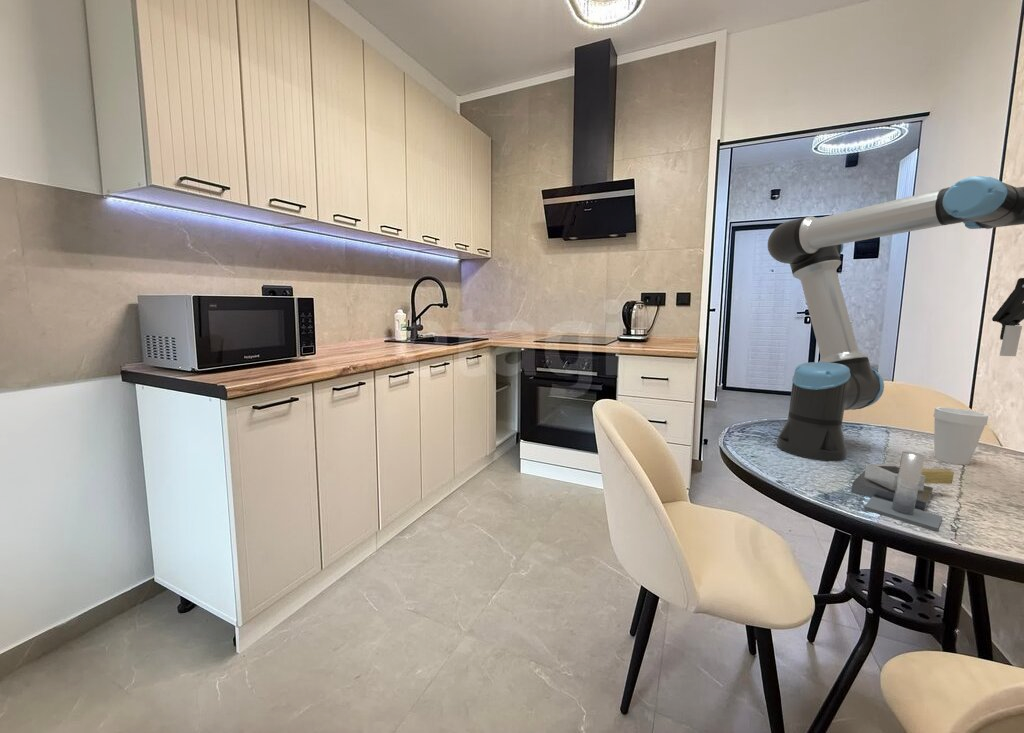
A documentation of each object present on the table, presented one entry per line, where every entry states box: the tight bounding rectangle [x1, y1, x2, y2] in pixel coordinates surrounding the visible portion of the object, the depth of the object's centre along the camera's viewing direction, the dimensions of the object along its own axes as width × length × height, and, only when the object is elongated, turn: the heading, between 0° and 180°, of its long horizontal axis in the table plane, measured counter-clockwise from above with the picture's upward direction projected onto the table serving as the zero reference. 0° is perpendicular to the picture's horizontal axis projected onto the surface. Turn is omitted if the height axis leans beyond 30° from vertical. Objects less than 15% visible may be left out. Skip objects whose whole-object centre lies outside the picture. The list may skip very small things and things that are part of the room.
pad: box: [863, 496, 944, 532], centre depth 79 cm, size 10×7×1 cm
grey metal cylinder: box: [892, 450, 925, 515], centre depth 79 cm, size 3×3×11 cm
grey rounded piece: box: [933, 406, 989, 466], centre depth 110 cm, size 10×9×13 cm
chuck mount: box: [850, 470, 934, 511], centre depth 88 cm, size 11×11×2 cm
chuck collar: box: [864, 463, 955, 491], centre depth 88 cm, size 15×6×3 cm, turn 93°
